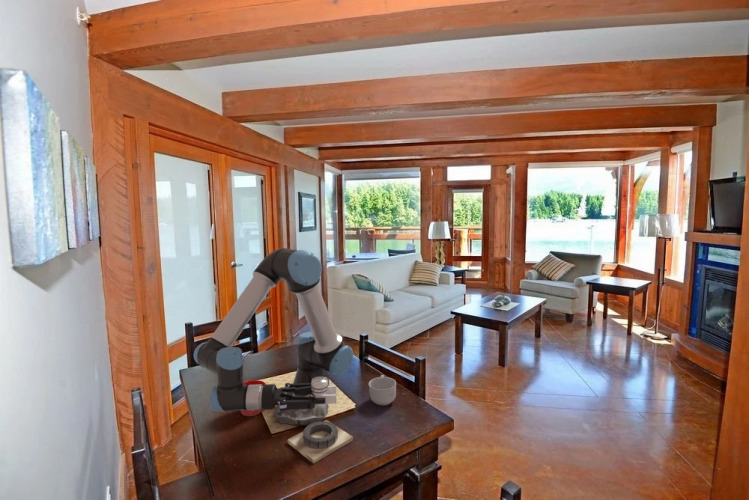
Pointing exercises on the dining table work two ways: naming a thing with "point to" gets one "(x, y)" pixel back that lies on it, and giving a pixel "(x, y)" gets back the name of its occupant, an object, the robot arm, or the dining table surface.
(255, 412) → the flower pot
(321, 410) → the piston
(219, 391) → the robot arm
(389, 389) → the teacup
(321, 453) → the ring board
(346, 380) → the dining table surface
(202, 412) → the dining table surface
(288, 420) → the brain slice
